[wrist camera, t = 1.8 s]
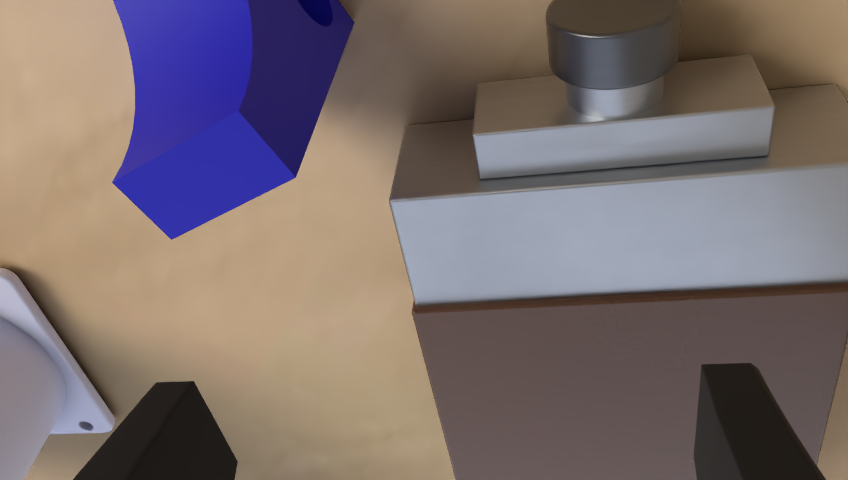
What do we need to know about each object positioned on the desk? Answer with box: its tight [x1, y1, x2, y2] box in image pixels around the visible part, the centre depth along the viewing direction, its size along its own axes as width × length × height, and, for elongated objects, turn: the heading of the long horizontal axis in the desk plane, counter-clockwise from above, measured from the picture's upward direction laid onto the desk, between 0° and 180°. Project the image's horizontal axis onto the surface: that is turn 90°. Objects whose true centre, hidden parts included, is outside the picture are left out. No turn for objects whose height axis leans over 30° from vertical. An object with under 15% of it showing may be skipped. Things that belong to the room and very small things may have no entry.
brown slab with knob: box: [389, 0, 848, 480], centre depth 21 cm, size 10×18×3 cm, turn 10°
